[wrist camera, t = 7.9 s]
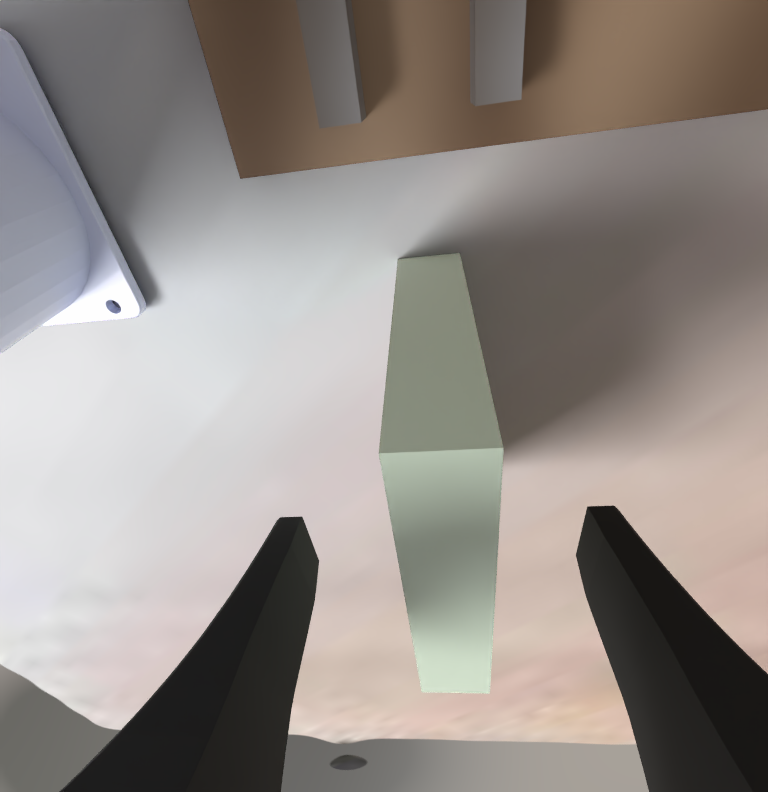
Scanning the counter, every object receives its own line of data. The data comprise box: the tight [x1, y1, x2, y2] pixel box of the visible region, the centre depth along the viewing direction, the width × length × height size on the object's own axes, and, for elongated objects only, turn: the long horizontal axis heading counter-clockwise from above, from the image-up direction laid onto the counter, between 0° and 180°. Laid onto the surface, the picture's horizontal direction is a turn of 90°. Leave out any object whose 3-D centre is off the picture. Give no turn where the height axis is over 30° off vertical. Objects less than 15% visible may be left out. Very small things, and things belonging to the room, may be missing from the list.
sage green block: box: [379, 253, 504, 694], centre depth 14 cm, size 2×10×9 cm, turn 7°
